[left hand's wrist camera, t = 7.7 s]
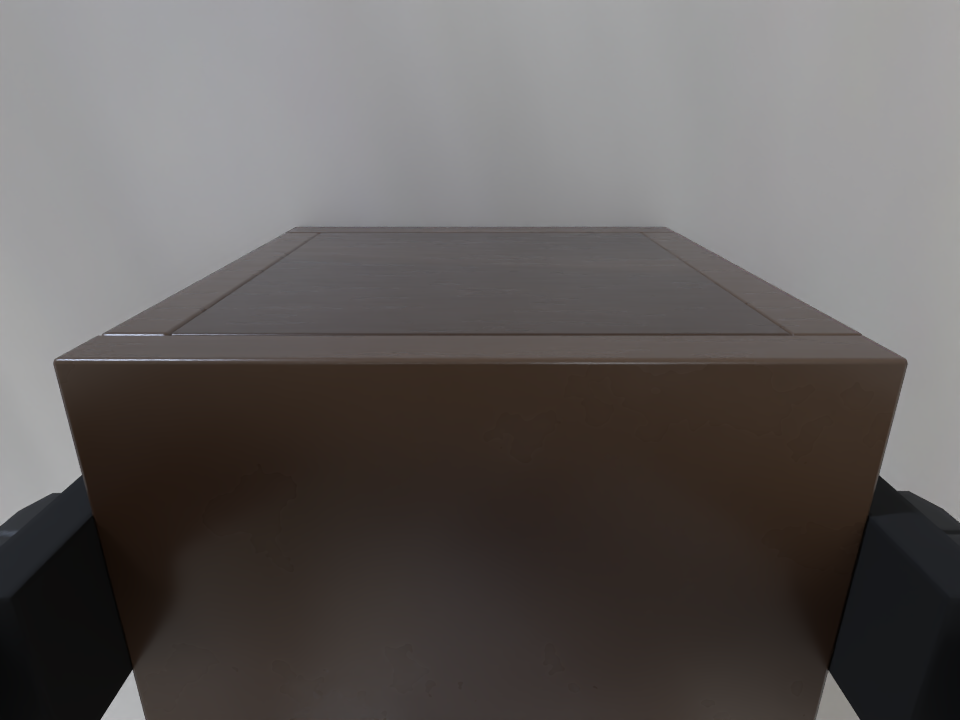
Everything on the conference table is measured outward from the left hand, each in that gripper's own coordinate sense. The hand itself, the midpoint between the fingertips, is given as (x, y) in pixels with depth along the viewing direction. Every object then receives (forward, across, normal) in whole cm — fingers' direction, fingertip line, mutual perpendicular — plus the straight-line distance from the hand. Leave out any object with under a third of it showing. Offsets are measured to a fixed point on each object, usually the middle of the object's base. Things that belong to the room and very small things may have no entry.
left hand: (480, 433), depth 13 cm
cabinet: (+5, 0, -6) cm, 8 cm away
